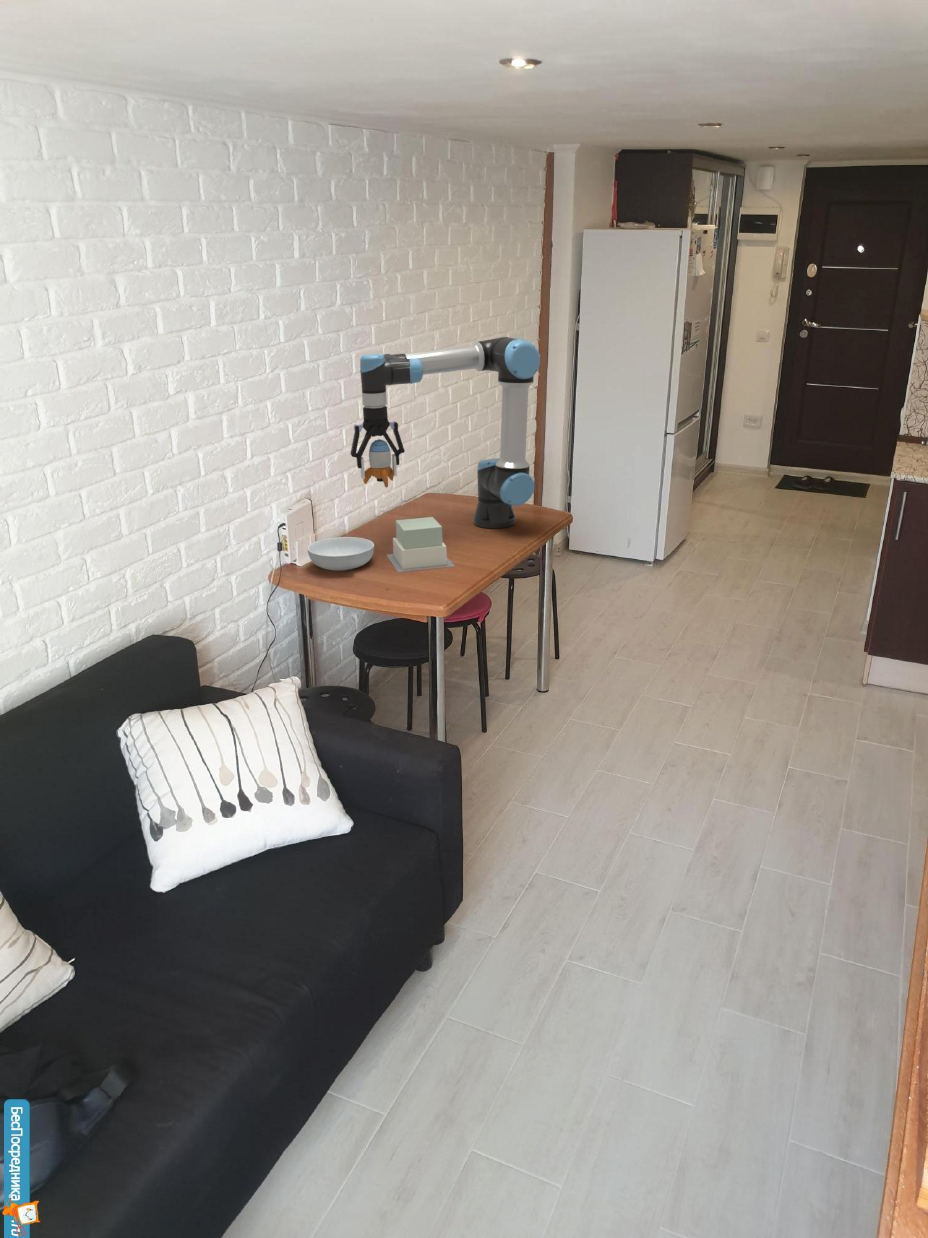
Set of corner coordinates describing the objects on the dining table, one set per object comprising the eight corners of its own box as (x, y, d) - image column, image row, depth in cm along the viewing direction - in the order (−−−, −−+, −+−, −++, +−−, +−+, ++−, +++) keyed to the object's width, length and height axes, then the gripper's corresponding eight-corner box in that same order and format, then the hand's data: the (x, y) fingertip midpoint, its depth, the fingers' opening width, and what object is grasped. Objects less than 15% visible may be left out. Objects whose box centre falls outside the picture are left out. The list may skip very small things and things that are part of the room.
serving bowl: (387, 560, 304) (386, 539, 301) (354, 580, 286) (352, 559, 283) (331, 553, 312) (329, 533, 309) (295, 572, 294) (293, 551, 292)
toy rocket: (394, 490, 299) (381, 445, 292) (362, 495, 301) (349, 451, 294) (401, 478, 307) (389, 434, 300) (370, 482, 310) (357, 439, 303)
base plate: (440, 552, 311) (440, 549, 310) (454, 569, 294) (454, 565, 294) (386, 557, 306) (386, 554, 306) (398, 575, 290) (397, 571, 290)
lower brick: (435, 551, 308) (435, 533, 306) (446, 564, 295) (446, 546, 293) (393, 555, 304) (392, 537, 302) (402, 569, 292) (402, 550, 290)
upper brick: (433, 534, 305) (432, 516, 302) (442, 545, 294) (442, 526, 292) (396, 538, 302) (395, 520, 299) (404, 549, 291) (403, 530, 289)
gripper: (407, 401, 301) (410, 471, 309) (337, 406, 295) (342, 477, 304) (412, 405, 294) (415, 476, 302) (341, 410, 289) (346, 482, 297)
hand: (379, 476), depth 303 cm, fingers closed on toy rocket, 10 cm apart
